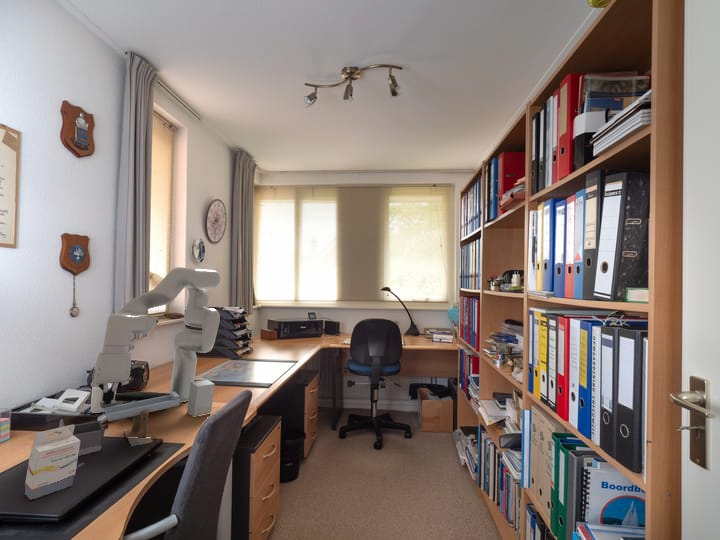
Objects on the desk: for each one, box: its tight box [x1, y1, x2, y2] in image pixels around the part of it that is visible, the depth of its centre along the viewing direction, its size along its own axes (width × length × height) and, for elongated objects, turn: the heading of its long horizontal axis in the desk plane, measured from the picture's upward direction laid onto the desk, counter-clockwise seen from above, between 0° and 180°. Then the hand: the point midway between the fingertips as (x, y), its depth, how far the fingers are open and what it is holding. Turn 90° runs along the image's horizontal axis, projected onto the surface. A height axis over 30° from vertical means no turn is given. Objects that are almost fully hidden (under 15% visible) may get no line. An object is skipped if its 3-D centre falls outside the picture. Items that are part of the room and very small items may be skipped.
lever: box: [100, 391, 181, 422], centre depth 117 cm, size 21×15×4 cm
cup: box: [57, 418, 106, 450], centre depth 103 cm, size 10×8×9 cm
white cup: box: [90, 383, 117, 414], centre depth 131 cm, size 8×8×10 cm
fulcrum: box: [123, 410, 151, 438], centre depth 114 cm, size 6×12×10 cm, turn 46°
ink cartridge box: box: [24, 424, 80, 490], centre depth 84 cm, size 9×5×15 cm, turn 150°
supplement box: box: [186, 379, 216, 418], centre depth 139 cm, size 7×7×13 cm
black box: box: [114, 391, 170, 421], centre depth 134 cm, size 18×9×20 cm
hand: (107, 402), depth 115 cm, fingers closed
